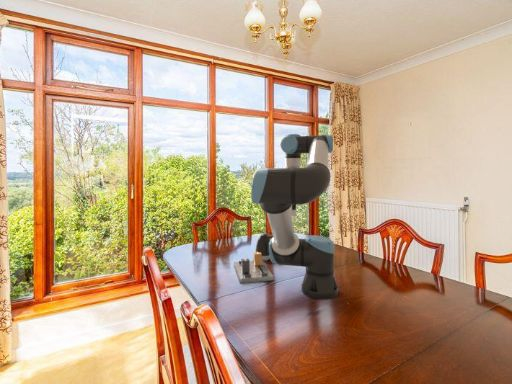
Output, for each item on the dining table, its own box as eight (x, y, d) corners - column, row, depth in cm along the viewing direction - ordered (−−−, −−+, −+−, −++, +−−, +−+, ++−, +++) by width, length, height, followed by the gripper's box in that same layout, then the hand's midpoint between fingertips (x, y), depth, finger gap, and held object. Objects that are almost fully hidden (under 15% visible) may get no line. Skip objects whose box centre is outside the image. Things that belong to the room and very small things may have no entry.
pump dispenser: (273, 262, 159) (273, 235, 158) (255, 262, 160) (255, 235, 158) (273, 256, 169) (272, 231, 168) (255, 256, 170) (255, 231, 169)
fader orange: (261, 265, 148) (261, 253, 147) (255, 265, 147) (254, 253, 147) (260, 263, 151) (260, 251, 151) (253, 263, 150) (253, 252, 150)
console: (274, 280, 133) (273, 274, 133) (239, 283, 130) (239, 276, 130) (262, 263, 156) (262, 258, 156) (233, 266, 153) (233, 260, 153)
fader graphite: (249, 272, 138) (249, 259, 137) (242, 273, 137) (242, 260, 136) (248, 270, 141) (248, 257, 140) (241, 270, 140) (241, 258, 139)
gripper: (305, 167, 129) (305, 218, 131) (295, 167, 142) (295, 214, 144) (289, 167, 128) (289, 218, 130) (281, 167, 141) (281, 214, 142)
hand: (293, 216), depth 137 cm, fingers closed
